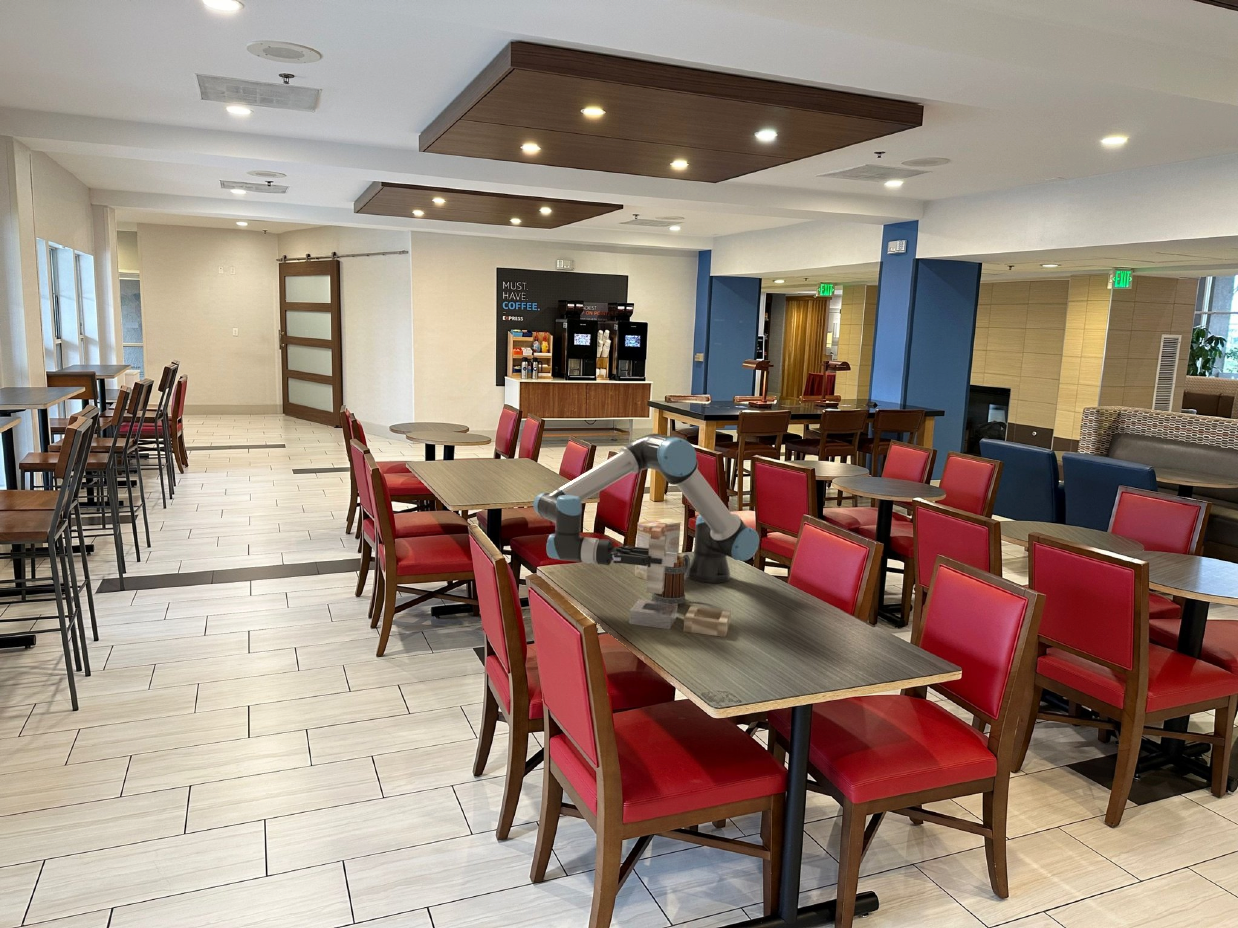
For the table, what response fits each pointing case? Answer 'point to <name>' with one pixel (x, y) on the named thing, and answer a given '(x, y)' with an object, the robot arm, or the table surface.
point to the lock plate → (653, 614)
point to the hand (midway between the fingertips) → (675, 560)
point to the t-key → (657, 548)
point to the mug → (674, 582)
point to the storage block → (707, 621)
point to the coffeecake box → (644, 538)
